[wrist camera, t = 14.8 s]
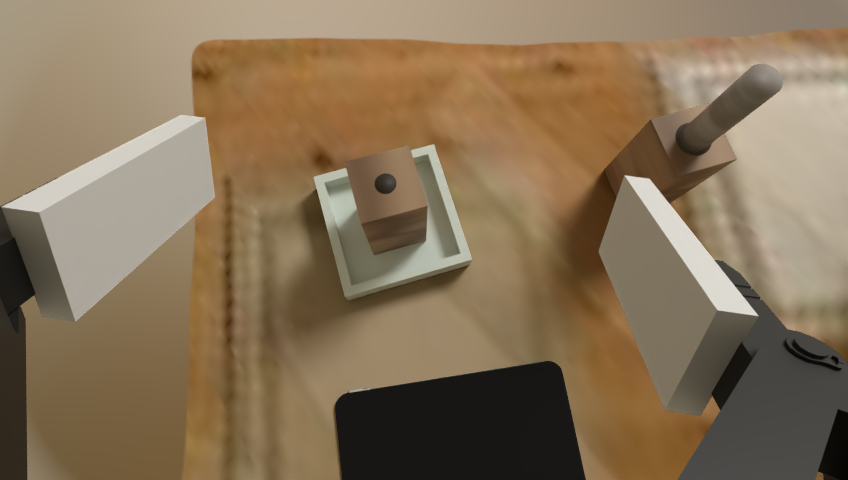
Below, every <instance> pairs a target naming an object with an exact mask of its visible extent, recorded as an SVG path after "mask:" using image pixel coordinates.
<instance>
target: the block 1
mask: <svg viewBox="0 0 848 480" xmlns="http://www.w3.org/2000/svg"><path fill="white" fill-rule="evenodd" d="M345 166H346V170H347V173H348V177H349V181H350V185H351V188H352V192H353V196H354V200H355V203H356V207H357V211H358V215H359V218H360V222H361V225H362V228H363V230H364V232H365V235H366V237H367V240H368V242H369V245H370V247H371V249H372V252H373V254H374V255H377V254H380V253H384V252H387V251H391V250H395V249H398V248H402V247H405V246H409V245H413V244H416V243H420V242H423V241H426V233H427V211H428V205H427V202H426V198H425V195H424V192H423V189H422V185H421V182H420V179H419V176H418V172H417V169H416V166H415V163H414V159H413V156H412V153H411V150H410V146H409V145H408V146H404V147H400V148H396V149H392V150H389V151H385V152H381V153H377V154H373V155H370V156H366V157H362V158H358V159H354V160H350V161H347V162H345Z"/></svg>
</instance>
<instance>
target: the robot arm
mask: <svg viewBox="0 0 848 480" xmlns="http://www.w3.org/2000/svg"><path fill="white" fill-rule="evenodd" d="M214 198H215V194H214V186H213V177H212V169H211V161H210V153H209V145H208V137H207V129H206V121H205V118H202V117H194V116H187V115H180V116H178V117H176V118H174V119H172V120H170V121H168V122H166V123H164V124H162V125H160V126H158V127H156V128H155V129H153V130H151V131H149V132H147V133H145V134H143V135H141V136H139V137H137V138H135V139H133V140H131V141H129V142H127V143H125V144H123V145H121V146H119V147H118V148H115V149H113V150H112V151H110V152H108V153H106V154H104V155H102V156H100V157H98V158H96V159H94V160H92V161H90V162H88V163H86V164H84V165H82V166H80V167H78V168H77V169H74V170H73V171H71V172H69V173H67V174H65V175H63V176H61V177H59V178H55V179H53V180H52V181H49V182H47V183H46V184H44V185H42V186H40V187H39V188H37V189H34V190H32V191H30V192H28V193H26V194H25V195H24V196H20V197H18V198H16V199H14V200H12V201H10V202H8V203H6V204H4V205H2V206H0V480H27V418H26V417H27V414H26V331H25V330H26V329H25V328H26V325H25V317H24V314H23V312H22V309H21V307H20V305H22V304H23V303H24V302H25V301H27V300H28V299H30V298H31V297H32V296H35V298H36V301H37V303H38V306H39V309H40V312H41V314H42V317H49V318H55V319H62V320H68V321H75V322H76V321H77V320H78V319H79V318H80V317H81V316H82V315H83V314H85V312H87V311H88V310H89V309H90V308H91V307H92V306H94V304H96V303H97V302H98V301H99V300H100V299H101V298H102V297H103V296H105V295H106V294H107V293H108V292H109V291H110V290H111V289H113V288H114V287H115V286H116V285H117V284H118V283H119V282H120V281H122V280H123V279H124V278H125V277H126V276H127V275H128V274H129V273H131V272H132V271H133V270H134V269H135V268H136V267H137V266H138V265H140V264H141V263H142V262H143V261H144V260H145V259H146V258H147V257H148V256H149V255H151V254H152V253H153V252H154V251H155V250H156V249H157V248H159V247H160V246H161V245H162V244H163V243H164V242H165V241H166V240H168V239H169V238H170V237H171V236H172V235H173V234H174V233H175V232H177V231H178V230H179V229H180V228H181V227H182V226H183V225H184V224H185V223H187V222H188V221H189V220H190V219H191V218H192V217H193V216H194V215H196V214H197V213H198V212H199V211H200V210H201V209H202V208H203V207H205V206H206V205H207V204H208V203H209V202H210V201H211V200H212V199H214ZM598 252H599V254H600V257H601V259H602V262H603V264H604V266H605V269H606V271H607V274H608V276H609V278H610V281H611V283H612V286H613V288H614V290H615V293H616V295H617V298H618V300H619V302H620V305H621V307H622V310H623V312H624V314H625V317H626V319H627V321H628V324H629V326H630V329H631V331H632V333H633V336H634V338H635V341H636V343H637V345H638V348H639V350H640V353H641V355H642V357H643V360H644V362H645V365H646V367H647V369H648V372H649V374H650V377H651V379H652V381H653V384H654V386H655V389H656V391H657V393H658V396H659V398H660V401H661V403H662V405H663V408H664V410H665V411H672V412H679V413H685V414H692V415H699V416H700V415H701V414H702V412H703V410H704V409H705V407H706V405H707V404H708V402H709V400H710V398H711V397H712V396H713V398H714V399H715V401H716V403H717V405H718V407H719V409H720V410H721V411H720V412H719V414H718V416H717V417H716V419H715V420H714V422H713V424H712V425H711V427H710V428H709V430H708V432H707V433H706V435H705V436H704V438H703V440H702V441H701V443H700V444H699V446H698V448H697V449H696V451H695V452H694V454H693V456H692V457H691V459H690V460H689V462H688V464H687V465H686V467H685V469H684V470H683V472H682V473H681V475H680V477H679V478H678V480H815V478H816V475H817V472H818V471H819V472H821V473H823V477H824V480H848V364H847V363H846V361H845V360H844V359H843V357H842V356H841V355H840V354H839V353H837V352H836V351H835V350H833V349H832V348H831V347H830V346H828V345H826V344H825V343H823V342H821V341H819V340H817V339H816V338H814V337H811V336H809V335H806V334H803V333H801V332H797V331H792V330H788V329H786V327H785V326H784V325H783V324H782V323H781V321H780V320H779V319H778V318H777V317H776V316H775V314H774V313H773V312H772V311H771V310H770V308H769V307H768V306H767V305H766V304H765V302H764V301H763V300H760V297H759V295H758V294H757V293H756V292H755V291H754V289H751V286H750V285H749V284H748V282H747V281H746V280H745V279H744V278H743V276H742V275H741V274H740V273H739V272H737V271H736V270H734V269H733V268H731V267H730V266H729V265H727V264H726V263H724V262H723V261H718V260H714V259H713V258H712V257H711V255H710V254H709V253H708V252H707V250H706V249H705V248H704V247H703V245H702V244H701V243H700V242H699V240H698V239H697V238H696V237H695V235H694V234H693V233H692V232H691V230H690V229H689V228H688V227H687V225H686V224H685V223H684V221H683V220H682V219H681V218H680V216H679V215H678V214H677V213H676V211H675V210H674V209H673V208H672V206H671V205H670V204H669V203H668V201H667V200H666V199H665V198H664V196H663V195H662V194H661V193H660V191H659V190H658V189H657V188H656V186H655V185H654V184H653V182H652V181H651V180H650V179H648V178H640V177H633V176H626V175H624V178H623V181H622V184H621V187H620V190H619V193H618V195H617V198H616V201H615V204H614V207H613V210H612V213H611V216H610V219H609V222H608V225H607V228H606V231H605V233H604V236H603V239H602V242H601V245H600V248H599V251H598Z"/></svg>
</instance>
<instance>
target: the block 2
mask: <svg viewBox="0 0 848 480" xmlns="http://www.w3.org/2000/svg"><path fill="white" fill-rule="evenodd" d="M782 84H783V81H782V77H781V75H780V73H779V72H778V71H777V70H776V69H775V68H773V67H771V66H769V65H766V64H757V65H754V66H752V67H751V68H750V69H749V70H747V71H746V72H745V73H744V74H743V75H742V76H741V77H740V78H739V79H738V80H736V81H735V82H734V83H733V84H732V85H731V86H730V87H729V88H728V89H727V90H725V91H724V92H723V93H722V94H721V95H720V96H719V97H718V98H717V99H716V100H714V101H713V102H712V103H711V104H709V103H708V104H704V105H701V106H697V107H693V108H690V109H686V110H683V111H679V112H675V113H672V114H668V115H665V116H661V117H658V118H654V119H651V120H650V121H649V122H648V123H647V124H646V125H645V126H644V127H643V128H642V130H641V131H640V132H639V133H638V134H637V135H636V136H635V137H634V138H633V139H632V140H631V141H630V142H629V144H628V145H627V146H626V147H625V148H624V149H623V150H622V151H621V152H620V153H619V154H618V155H617V156H616V157H615V159H614V160H613V161H612V162H611V163H610V164H609V165H608V166H607V167H606V168H605V169H604V171H605V173H606V175H607V178H608V180H609V183H610V185H611V187H612V190H613V192H614V194H615V197H616V198H617V195H618V193H619V190H620V187H621V184H622V181H623V178H624V175H626V176H633V177H640V178H648V179H650V180H651V181H652V182H653V184H654V185H655V186H656V188H657V189H658V190H659V191H660V193H661V194H662V195H663V196H664V198H665V199H666V200H667V201H668V203H670V202H672V201H674V200H675V199H677V198H678V197H680V196H682V195H683V194H685V193H686V192H688V191H689V190H691V189H692V188H694V187H695V186H697V185H698V184H700V183H701V182H703V181H704V180H706V179H707V178H709V177H710V176H712V175H713V174H715V173H716V172H718V171H719V170H721V169H723V168H724V167H726V166H727V165H729V164H730V163H732V162H733V161H735V160H736V159H737V158H736V156H735V154H734V152H733V150H732V148H731V146H730V144H729V142H728V140H727V138H726V136H725V134H724V133H726V132H727V131H728V130H729V129H731V128H732V127H733V126H735V125H736V124H737V123H739V122H740V121H741V120H742V119H744V118H745V117H746V116H748V115H749V114H750V113H752V112H753V111H754V110H755V109H757V108H758V107H759V106H761V105H762V104H763V103H765V102H766V101H767V100H768V99H770V98H771V97H772V96H774V95H775V94H776V93H777V92H779V91H780V89H781V88H782Z"/></svg>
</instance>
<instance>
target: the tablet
mask: <svg viewBox="0 0 848 480" xmlns="http://www.w3.org/2000/svg"><path fill="white" fill-rule="evenodd" d="M335 411H336V421H337V431H338V440H339V450H340V460H341V470H342V479H343V480H586V479H585V474H584V470H583V465H582V460H581V456H580V451H579V446H578V442H577V437H576V433H575V428H574V423H573V419H572V414H571V410H570V405H569V400H568V396H567V391H566V386H565V382H564V377H563V373H562V370H561V368H560V367H559V366H558V365H557V364H556V363H554V362H551V361H543V362H537V363H531V364H525V365H518V366H512V367H506V368H500V369H493V370H487V371H481V372H475V373H469V374H462V375H456V376H450V377H444V378H437V379H431V380H425V381H419V382H412V383H406V384H400V385H394V386H388V387H381V388H375V389H370V388H364V389H357V390H351V391H349V393H346V394H344V395H342V396H341V397H340V398H339V399H338V401H337V403H336V406H335Z"/></svg>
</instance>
